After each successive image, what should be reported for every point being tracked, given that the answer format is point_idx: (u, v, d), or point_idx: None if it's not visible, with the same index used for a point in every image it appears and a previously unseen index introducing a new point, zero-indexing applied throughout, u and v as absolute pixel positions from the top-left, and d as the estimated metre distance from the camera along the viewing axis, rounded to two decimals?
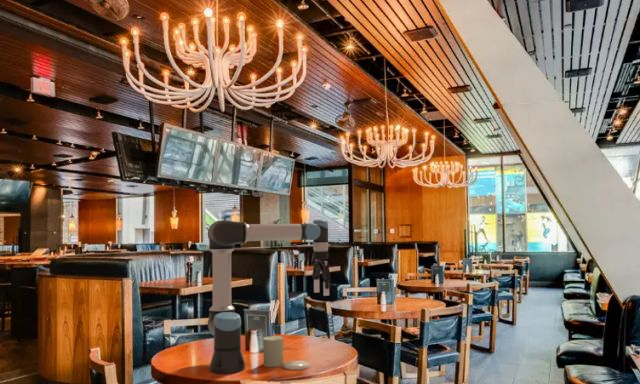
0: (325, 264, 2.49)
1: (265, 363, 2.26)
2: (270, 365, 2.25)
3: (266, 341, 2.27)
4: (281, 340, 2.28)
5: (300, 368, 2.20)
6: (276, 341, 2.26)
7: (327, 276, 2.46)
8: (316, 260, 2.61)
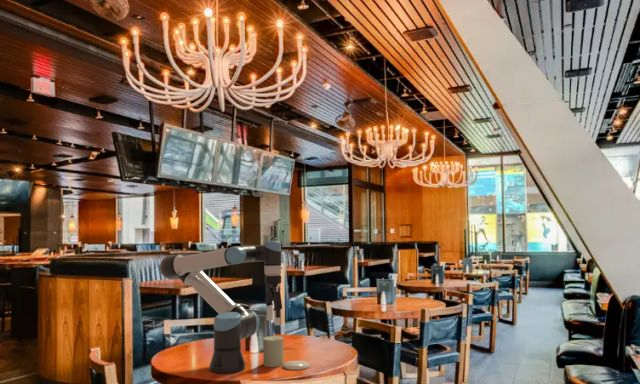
0: (276, 290, 2.25)
1: (265, 363, 2.26)
2: (270, 365, 2.25)
3: (266, 341, 2.27)
4: (281, 340, 2.28)
5: (300, 368, 2.20)
6: (276, 341, 2.26)
7: (278, 304, 2.23)
8: (269, 284, 2.37)
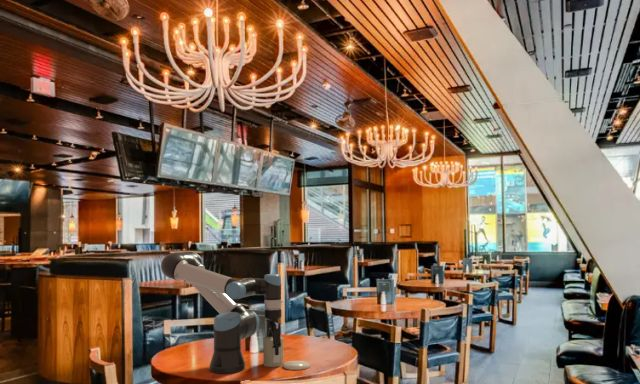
0: (276, 327, 2.25)
1: (265, 363, 2.26)
2: (270, 365, 2.25)
3: (266, 341, 2.27)
4: (281, 340, 2.28)
5: (300, 368, 2.20)
6: None
7: (277, 342, 2.23)
8: (269, 319, 2.36)
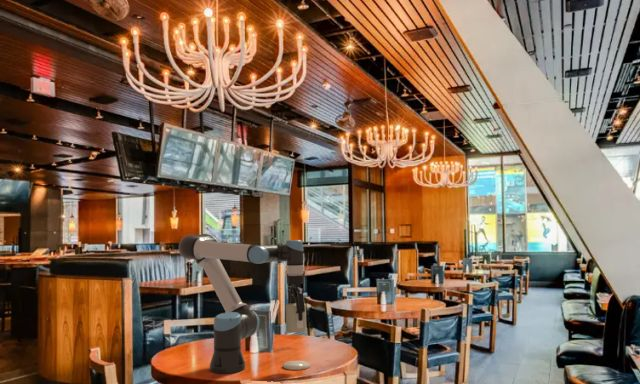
0: (300, 292, 2.22)
1: (288, 329, 2.23)
2: (294, 331, 2.22)
3: (289, 307, 2.24)
4: (304, 306, 2.25)
5: (300, 368, 2.20)
6: None
7: (301, 307, 2.20)
8: (290, 286, 2.33)
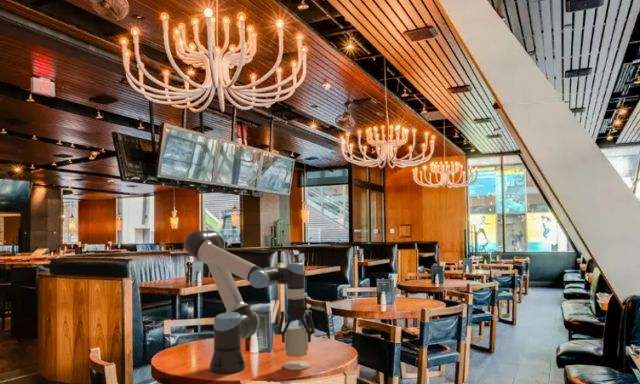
0: None
1: (300, 354, 2.22)
2: (304, 354, 2.23)
3: (301, 330, 2.23)
4: None
5: (300, 368, 2.20)
6: None
7: (313, 328, 2.26)
8: (282, 311, 2.27)
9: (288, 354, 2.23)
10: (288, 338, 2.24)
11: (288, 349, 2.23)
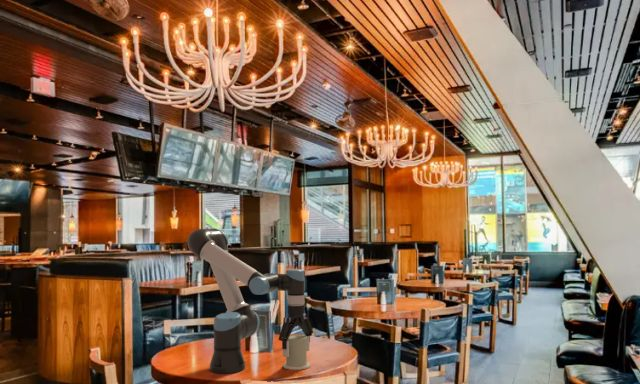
0: None
1: (306, 361, 2.25)
2: None
3: (306, 338, 2.26)
4: None
5: (300, 368, 2.20)
6: None
7: None
8: (287, 318, 2.23)
9: (296, 364, 2.21)
10: (296, 348, 2.22)
11: (296, 359, 2.21)
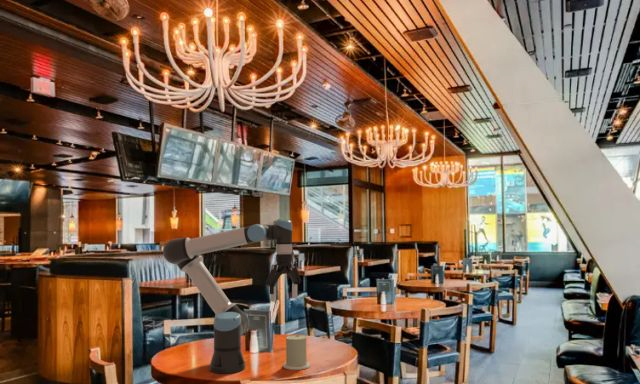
0: None
1: (306, 361, 2.25)
2: None
3: (306, 337, 2.26)
4: None
5: (300, 368, 2.20)
6: None
7: None
8: (275, 265, 2.33)
9: (296, 364, 2.21)
10: (296, 348, 2.22)
11: (296, 359, 2.21)
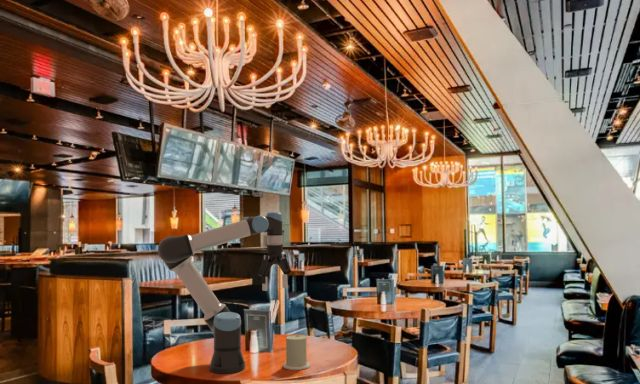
0: None
1: (306, 361, 2.25)
2: None
3: (306, 338, 2.26)
4: None
5: (300, 368, 2.20)
6: None
7: None
8: None
9: (296, 365, 2.21)
10: (296, 348, 2.22)
11: (296, 360, 2.21)
